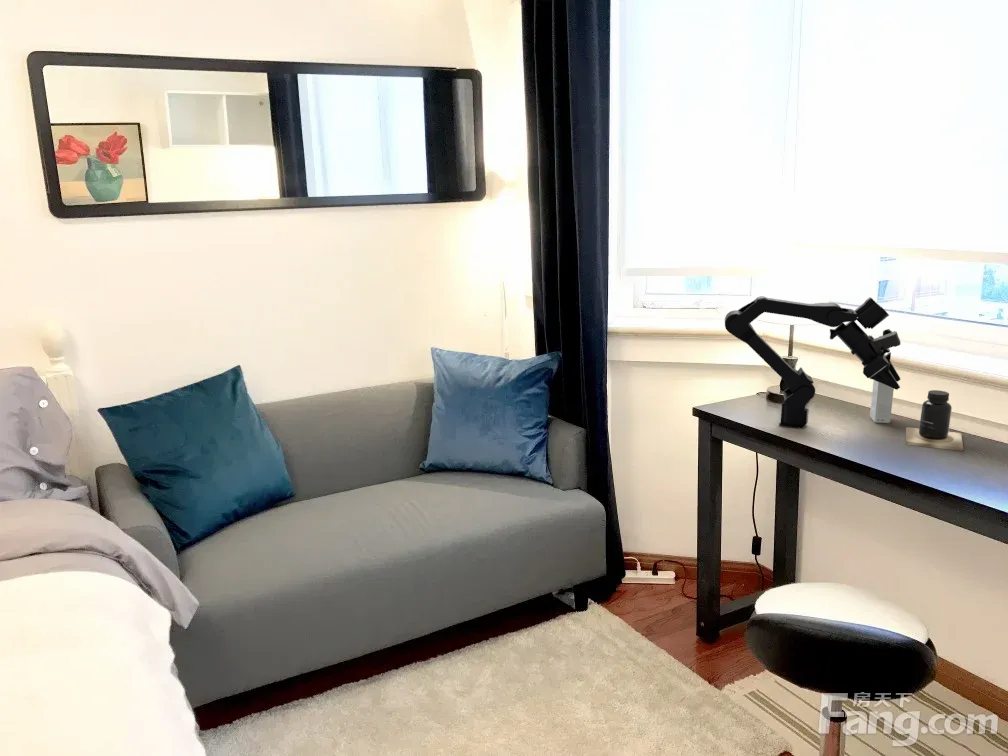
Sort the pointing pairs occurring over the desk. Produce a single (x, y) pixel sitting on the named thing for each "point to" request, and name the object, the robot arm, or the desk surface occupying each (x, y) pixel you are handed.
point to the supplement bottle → (935, 416)
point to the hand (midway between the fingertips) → (898, 384)
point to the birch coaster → (949, 443)
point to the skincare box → (881, 402)
